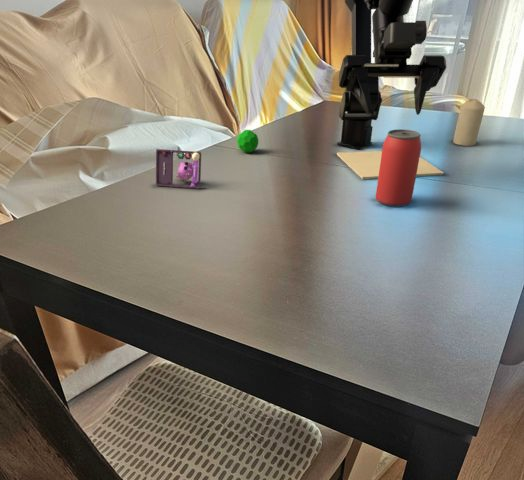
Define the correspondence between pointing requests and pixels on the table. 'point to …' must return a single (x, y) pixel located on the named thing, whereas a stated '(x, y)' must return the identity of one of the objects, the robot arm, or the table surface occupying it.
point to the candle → (469, 122)
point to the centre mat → (370, 164)
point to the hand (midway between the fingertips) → (394, 113)
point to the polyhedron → (247, 141)
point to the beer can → (398, 167)
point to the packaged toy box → (185, 169)
